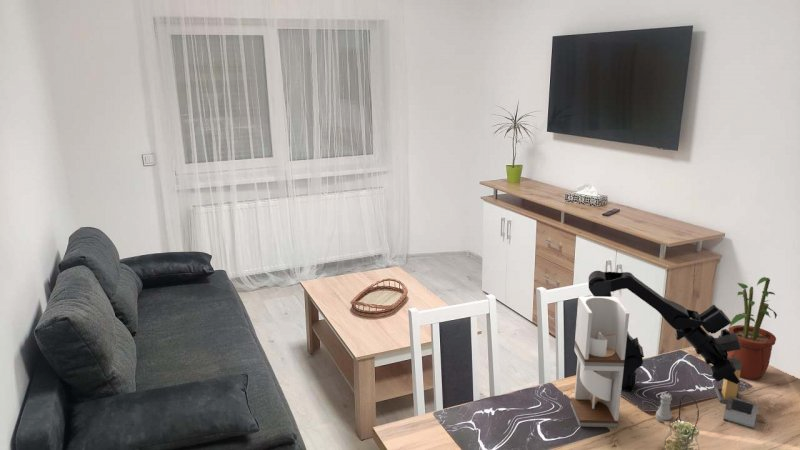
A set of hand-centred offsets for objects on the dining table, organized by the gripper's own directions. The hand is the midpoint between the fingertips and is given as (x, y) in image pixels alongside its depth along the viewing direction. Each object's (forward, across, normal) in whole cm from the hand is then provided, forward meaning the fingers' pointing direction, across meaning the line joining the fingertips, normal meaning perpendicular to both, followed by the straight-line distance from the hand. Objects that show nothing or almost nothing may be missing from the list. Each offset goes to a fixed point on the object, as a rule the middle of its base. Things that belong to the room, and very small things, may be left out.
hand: (736, 379), depth 171 cm
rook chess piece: (-10, -16, +20) cm, 28 cm away
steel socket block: (+5, -10, +6) cm, 13 cm away
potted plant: (+9, +19, +2) cm, 21 cm away
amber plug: (+3, 0, +5) cm, 6 cm away
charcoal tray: (+4, 0, +6) cm, 8 cm away
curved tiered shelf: (-23, -20, +34) cm, 46 cm away
